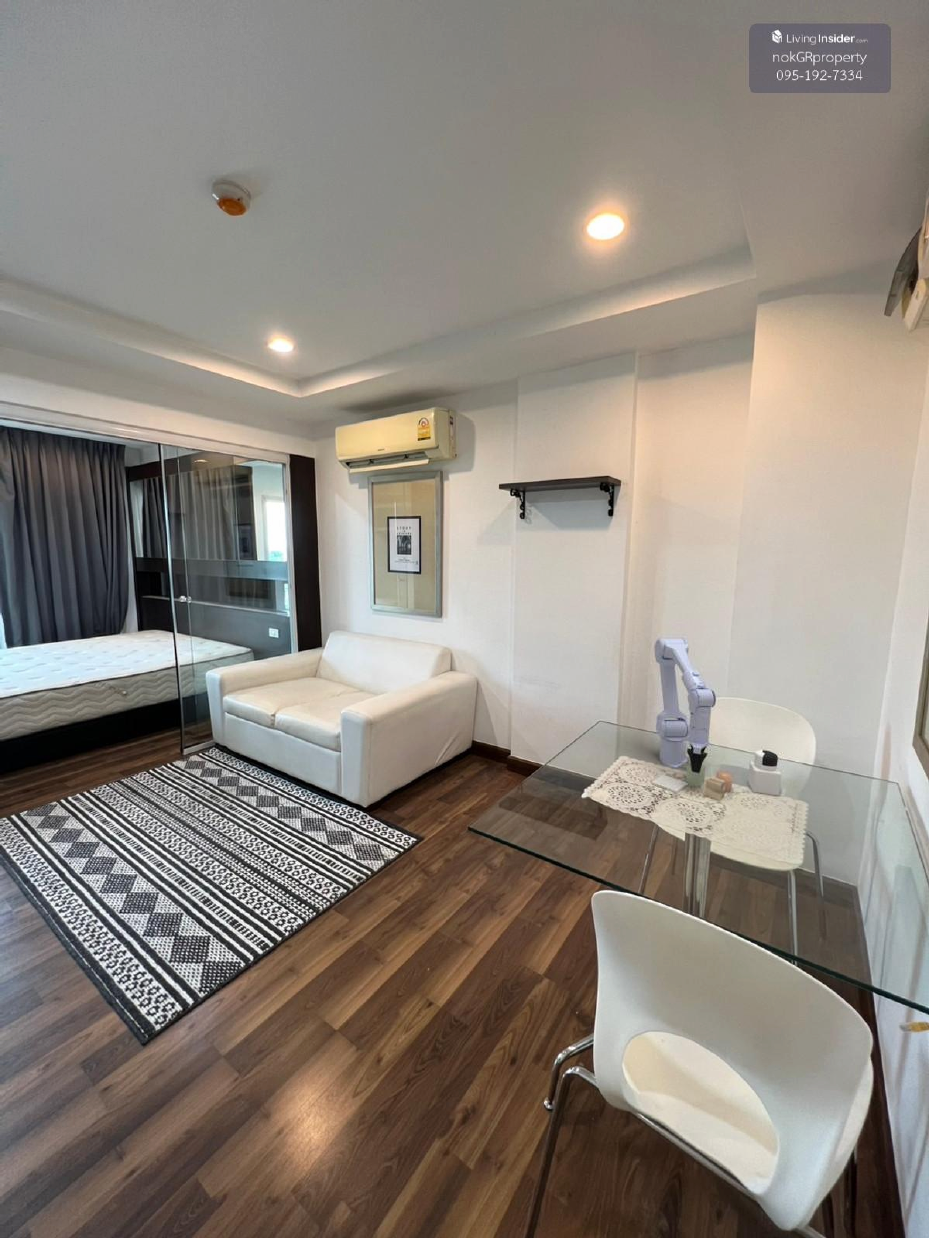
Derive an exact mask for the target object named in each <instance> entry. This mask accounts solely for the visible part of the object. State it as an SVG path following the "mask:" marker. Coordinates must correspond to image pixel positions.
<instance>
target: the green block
mask: <svg viewBox="0 0 929 1238" xmlns="http://www.w3.org/2000/svg"><path fill="white" fill-rule="evenodd" d="M705 773H706V765H704V764H702V766H701V770H700V772H699V773H695V772H692V769H691V762H689V764H687V765H686V777H685V778H686V779H685V782H686V783H688V785H690V786H693V787H696V788H700V787H701V785H703V784H704V783H705V775H706V774H705Z"/></svg>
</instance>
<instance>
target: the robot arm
mask: <svg viewBox="0 0 929 1238" xmlns="http://www.w3.org/2000/svg"><path fill="white" fill-rule="evenodd" d="M653 650H654V657H655V662H656V663H658V664H659V672H660V673H659V674H660V682H661V692H662V702H663V703H662V705H663V710H662V711H661V712H660V713H659V714H657V716H656V722H655V723H656V724H655V730H656V734H657V735H658V737H659V738H660V743H659V744H660V746H659V756H658V757H659V761H661V763H662V764H665V765H668V766H670V767H673V768H676V769H677V768H679V767H680V766H682V765H683V764H685V763H686V762H689V761H690V762H689V763H691V769H692V772H695V773H699V772H700V770H701V766H702V765H703V763H704V761H705V759H706V758H707V756H708V752H705V750H706V748H707V747H708V746H709V744H710V740H709V738H710V737H709V736H710V725H711V714H712V713H711V712H712V708H715V705H716V703H717V697H716V693H715V691H714V690H713V688H710V686H707V685H706V683H705V681H704V680H703V679H704V678H702V676H701V674H700V672H699V671H698V670H696V669H694V667H693V665H692V662H691V659H690V658H689V643H688V641H687V639H686V638H662V637H660V638H657V639H656V641H655V644H654V649H653ZM676 666H677V667H678V668H679V670H680V671H681V674H682V675H681V681H682V683H683V685H684V687H685V690H686V691H687V693H688V695H687V702H688V711H689V714H690V715H689V722H688V717H687V715H686V714H685V713H683V712H682V711H680V706H679V705H680V704H679V695H678V685H677V676H676ZM687 742H688V743H689V746H690V748H687ZM686 753H687V755H688V757H689V760H688V759H686Z"/></svg>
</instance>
